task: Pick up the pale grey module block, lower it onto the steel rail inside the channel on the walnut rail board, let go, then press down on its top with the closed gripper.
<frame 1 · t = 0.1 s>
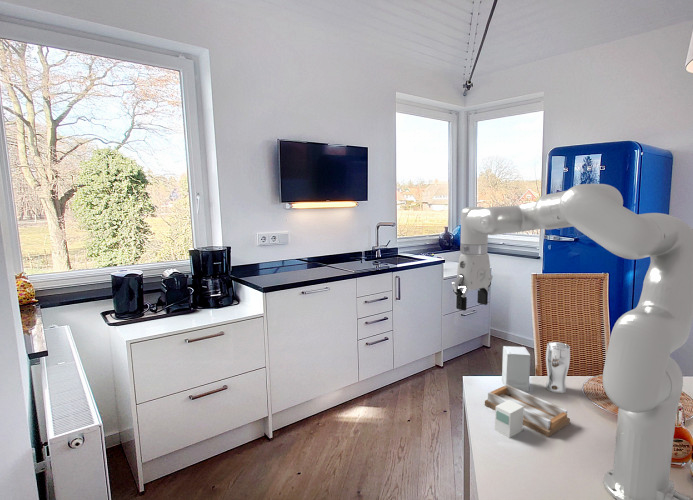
hand: (472, 306, 119), 31 cm above the table, tool pointing down, fingers open, 9 cm apart
rail board: (525, 414, 117), on the table
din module: (508, 430, 110), on the table
supplement box: (514, 386, 134), on the table
beer glass: (555, 389, 132), on the table
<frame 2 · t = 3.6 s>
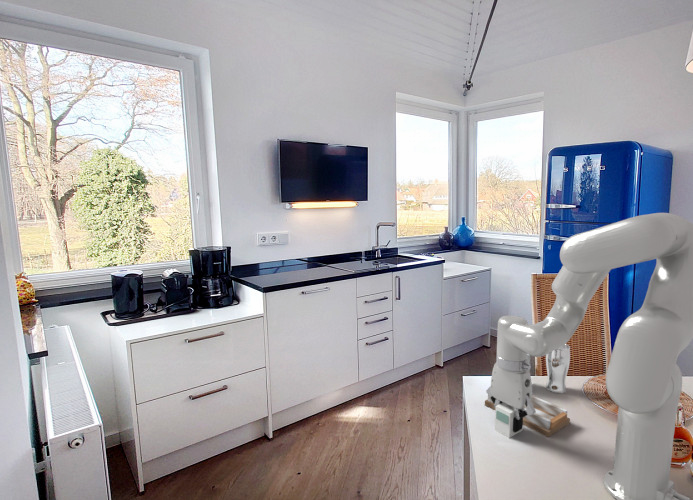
hand: (508, 425, 109), 1 cm above the table, tool pointing down, fingers closed on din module, 4 cm apart
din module: (508, 430, 110), on the table, touching gripper
everything else where it was.
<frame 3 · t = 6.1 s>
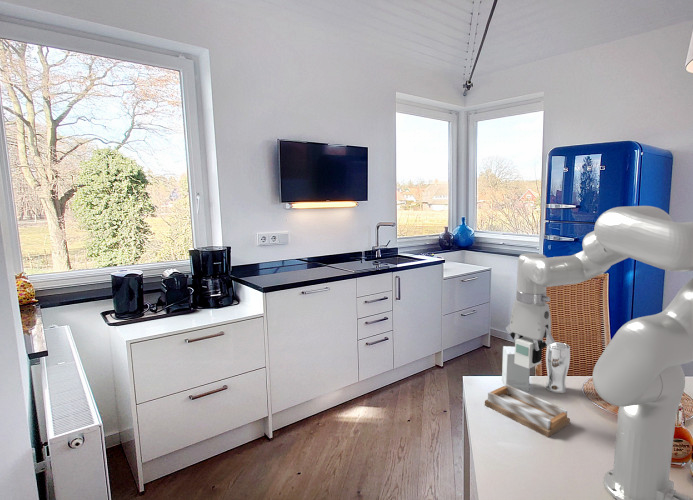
hand: (527, 358, 115), 17 cm above the table, tool pointing down, fingers closed on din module, 4 cm apart
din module: (527, 363, 115), point 16 cm above the table, touching gripper
everything else where it was.
when the fingers open (4 cm above the table, at t = 8.7 s): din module stays where it is, resting on rail board.
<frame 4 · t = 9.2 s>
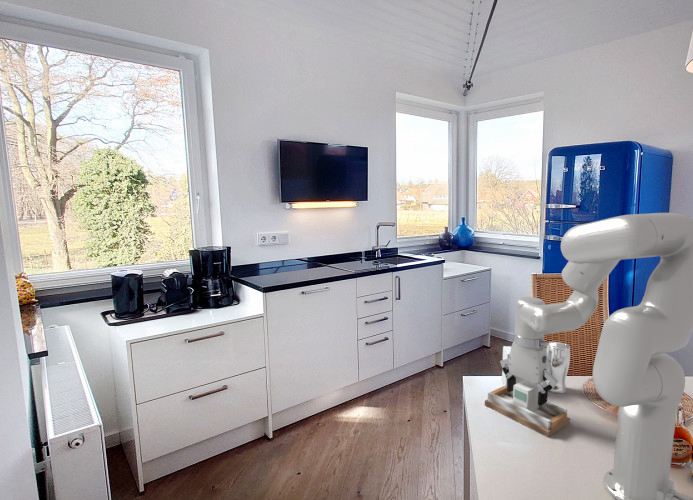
hand: (526, 397, 117), 5 cm above the table, tool pointing down, fingers open, 9 cm apart
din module: (525, 407, 117), point 2 cm above the table, touching rail board
everything else where it was.
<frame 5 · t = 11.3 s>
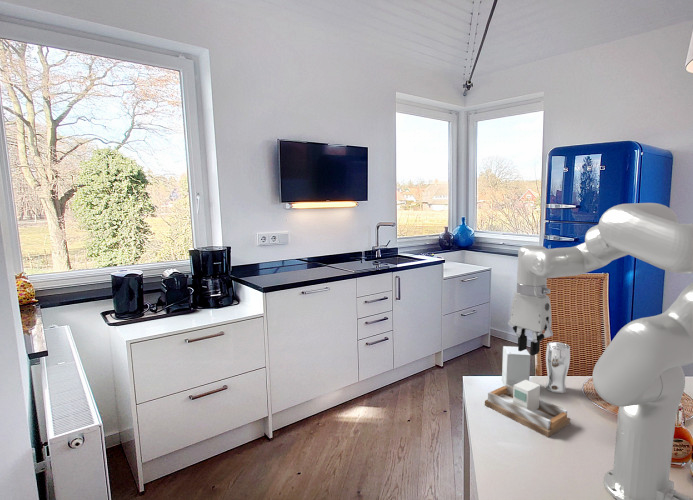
hand: (528, 351, 115), 19 cm above the table, tool pointing down, fingers open, 3 cm apart
nothing on the table moved.
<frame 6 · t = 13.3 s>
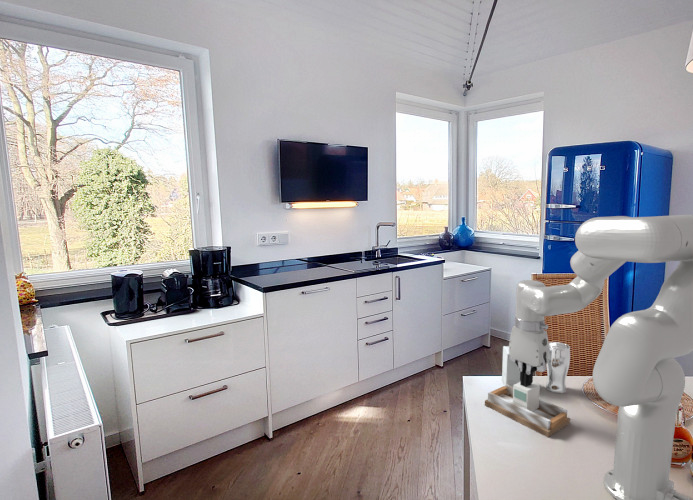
hand: (526, 384, 116), 9 cm above the table, tool pointing down, fingers closed
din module: (525, 407, 117), point 2 cm above the table, touching gripper, rail board
everything else where it was.
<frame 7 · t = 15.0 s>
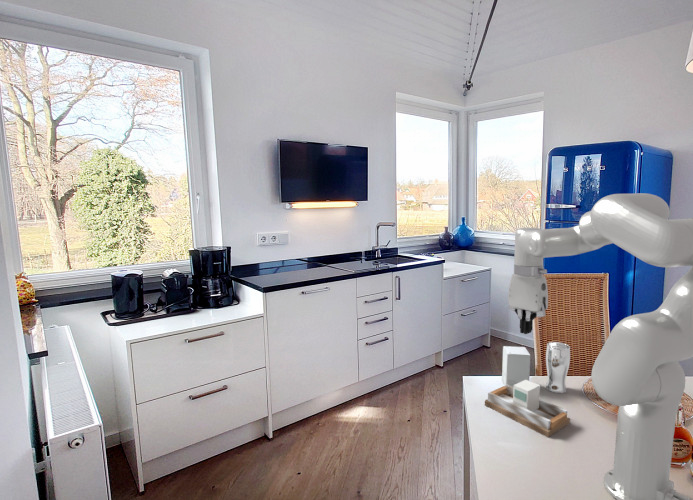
hand: (525, 332, 117), 24 cm above the table, tool pointing down, fingers closed
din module: (525, 407, 117), point 2 cm above the table, touching rail board
everything else where it was.
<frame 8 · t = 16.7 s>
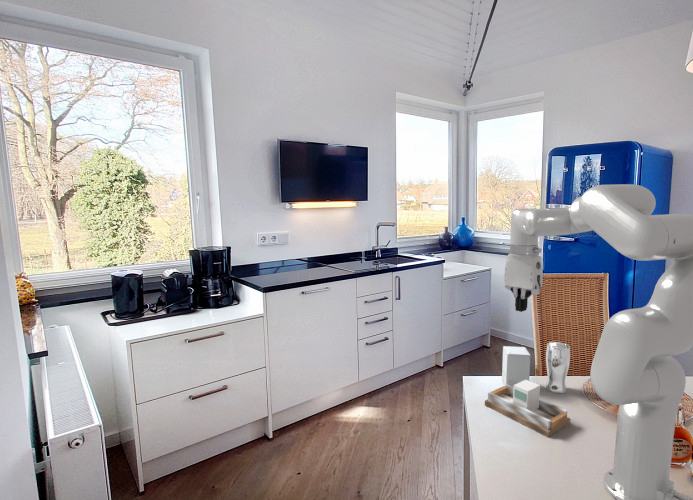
hand: (520, 310, 121), 29 cm above the table, tool pointing down, fingers closed
nothing on the table moved.
at the end: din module inside the target area on the rail board (0.1 cm from its centre), point 2.0 cm above the rail board's base; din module tilted 0°; the gripper is holding nothing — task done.
